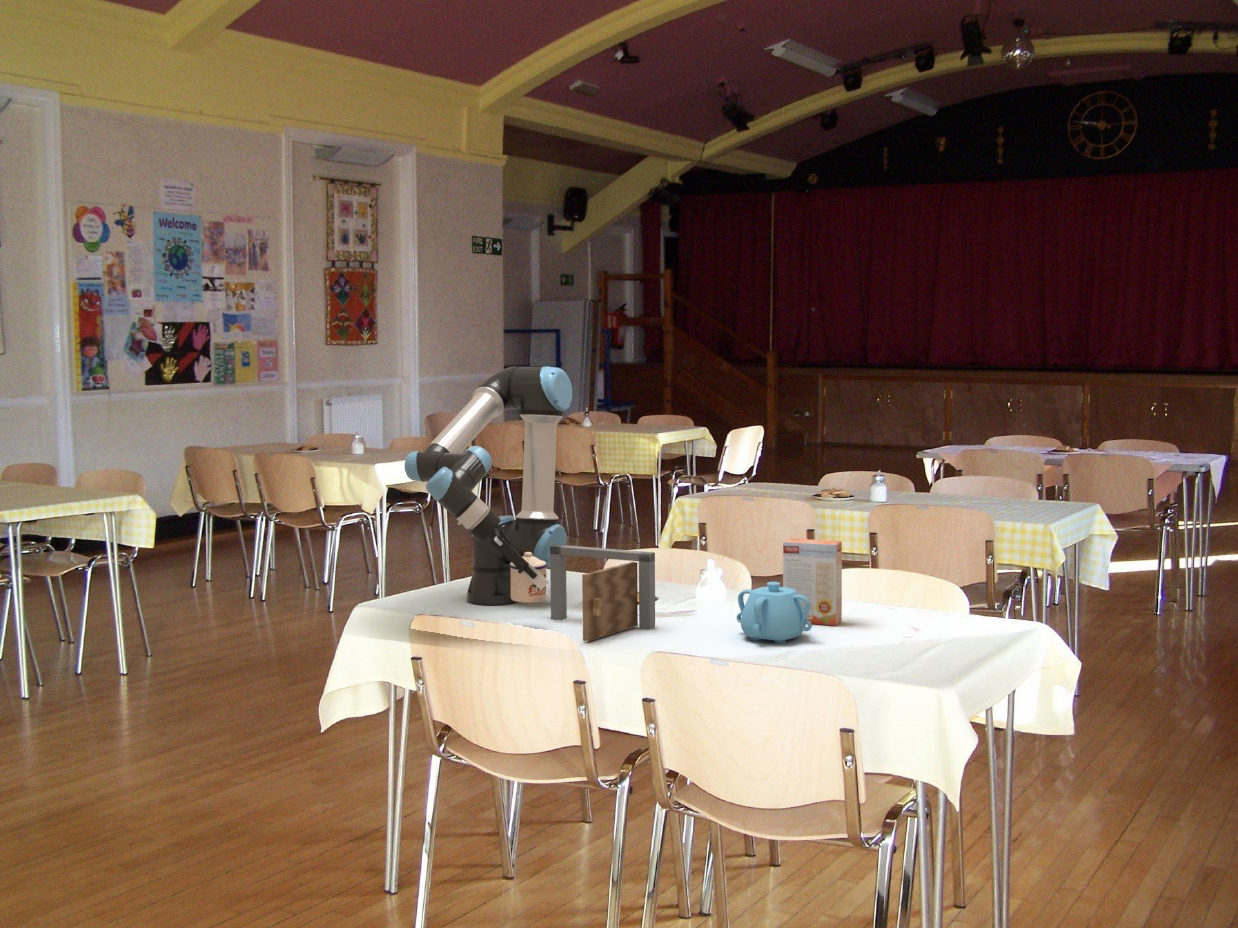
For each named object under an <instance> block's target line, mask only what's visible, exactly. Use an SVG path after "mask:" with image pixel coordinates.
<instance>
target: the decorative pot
mask: <svg viewBox="0 0 1238 928" xmlns="http://www.w3.org/2000/svg"><path fill="white" fill-rule="evenodd" d="M766 585H767V586H761V587H757V588H754V589H749V588H748V589H747V588H746V589H744V590H742V591H740V592H739V594H738V596H737V603H738V607H739V611H740V612H738V613H737V615H736V621H737V622H738V623H739V624H740V628H741V630H742V631H743V633H744V634H745V636H746V637H749V638H750V640H751V641H761V640H768V641H774V643H775V644H786V643H787V642H786V641H787V640H791V639H794V638H797V637H799V636H801V634H802V633H803V632H809V631H811V630H812V628H813V624H812V623H811V622H810V621H809V620H806V619H807V616H808V614H809V611H810V601H809V599H808V598H807V597H805V596H803V595H798V593H797V592H796V590H795V589H792V588H788V587H783V586H781V582H778V581H768V582H767V583H766ZM746 594H748V598H747V599H746V602H744V596H745V595H746ZM800 599H801V600H803V601H804V602H805V605H806V607H805V611H804V607H803V604H802V602H801V600H800Z"/></svg>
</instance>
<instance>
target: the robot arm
mask: <svg viewBox="0 0 1238 928" xmlns="http://www.w3.org/2000/svg"><path fill="white" fill-rule="evenodd" d="M572 401H573V387H572V383H571V380H570V377H569V376H568V375H567V373H566V372H565V370H563V369H562V368H560V367H555V366H554V367H553V366H548V365H547V366H510V367H506V368H504V369H501V370H499V371H498V372H496V373H493V375H490V376H489V377H488V378H487V379H485V380H484V381H483V382H482V383H481V384H480V385H479V386H478V387H476V389H474V391H473V393H472V396H471V400H469V402H468V403H467V404H466V405H465V406H464V407H463V408H462V409H461V410H460V411H459V412H458V413H457V415H456V416H454V417H453V419H451V421H450V422H449V423H448V424H447V425H446V427H444V428H443V429H442V431H441V432H439V434H438V435H437V436H436V437H435V438H434V439H433V440H432V441H431V443H429V445H428V446H426V448H425V449H423V451H421V450H417V451H411V452H409V454H408V455H406V457H405V460H404V472H405V474H406V476H407V478H408V479H410V480H412V481H416V482H417V481H418V482H421V483H426V482H427V483H426V484H425V490H426V492H428V494H429V495H430V496H431V497H432V498H433V500H435V501H436V502H437V503H438V504H439V505H441V507H443V509H445V511H446V512H448V513H449V514H450V515H452V516H453V518H455V519H456V520H457V521H458V522H457V525H458V526H461V525H462V526H463V527H464V528H465V529H466V530H469V531H470V534H471V542H472V543H471V545H472V546H471V547H472V549H471V550H472V551H471V552H472V575H471V579H470V582H469V584H468V588H467V592H466V601H467V602H469V603H470V604H472V605H473V604H474V605H482V606H499V605H500V606H501V605H502V606H503V605H509V604H513V603H514V604H515V603H517V602H516V601H513V600H512V599H511V567H510V563H511V562H512V563H513V564H514V565H515V566H516V567H517V568H518V570H519V571H518V573H519V574H521V573H522V572H523V573H524V574H525V575H526V576H527V577H528V578H529V579H530V580H531V581H532V582H533V583H534V584H535V585H536V586H537V587H538V588H539V589H540V590H542V589H543V588H544V587H545V586H546V587H547V585H548V584H549V580H548V579H547V578H546V579H545V578H544V577H543V576H542V575H541V574H540V573H539V572H538V571H537V570H536V569H535V568H534V567H533V566H532V565H531V564H529V563H528V562H527V561H526V560H525V559H524V558H523V556H524V553H525V552H531V553H532V556H534V557H536V558H538V559H539V560H542V561H545V562H546V565H547V566H546V568H550V546H553V545H567V539H568V538H567V533H566V530H565V527H563V525H561V524H559V516H558V515H557V514H556V513H555V511H554V506H555V505H554V503H555V483H556V482H555V477H556V456H557V455H556V452H557V451H556V450H557V429H558V423H559V422H560V421H561V420H562V419H563V416H564V411H566V410H568V409H569V408H570V407H571V404H572ZM509 410H519V417H521V419H522V420H523V421H524V422H525V423H524V444H523V445H524V446H523V447H524V449H523V468H522V470H523V472H522V473H523V474H522V495H521V510H520V511H519V512H518V513H517V514H516V515H515V516H514V515H499V516H498V515H497V514H496V513H495V512H494V511H493V510H489V506H488V504H486V503H485V502H484V501H483V500H482V499H481V498H480V497H478V496H477V495H476V494H475V493H474V492H473V490H474V489H475V488H476V487H477V485H478V484H479V483H480V482H481V481H482V480H483V478H484V477H486V475H487V473H488V472H489V470H490V469H491V467H492V465H493V460H492V457H491V455H490V453H489V452H488V451H487V450H486V449H485V448H484V447H482V446H479V445H472V446H470V447H469V448H467V447H468V446H469V445H470V444H471V443H472V442H473V441H474V440H475V439H476V437H477V436H478V435H479V434H480V433H481V432H482V431H483V430H484V428H486V426H487V425H488V424H489V423H490V422H491V421H492V420H493V419H494V418H498V417H499V416H501V415H502V414H503V413H504V412H505V411H509ZM466 448H467V449H466ZM465 449H466V450H465Z"/></svg>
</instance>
